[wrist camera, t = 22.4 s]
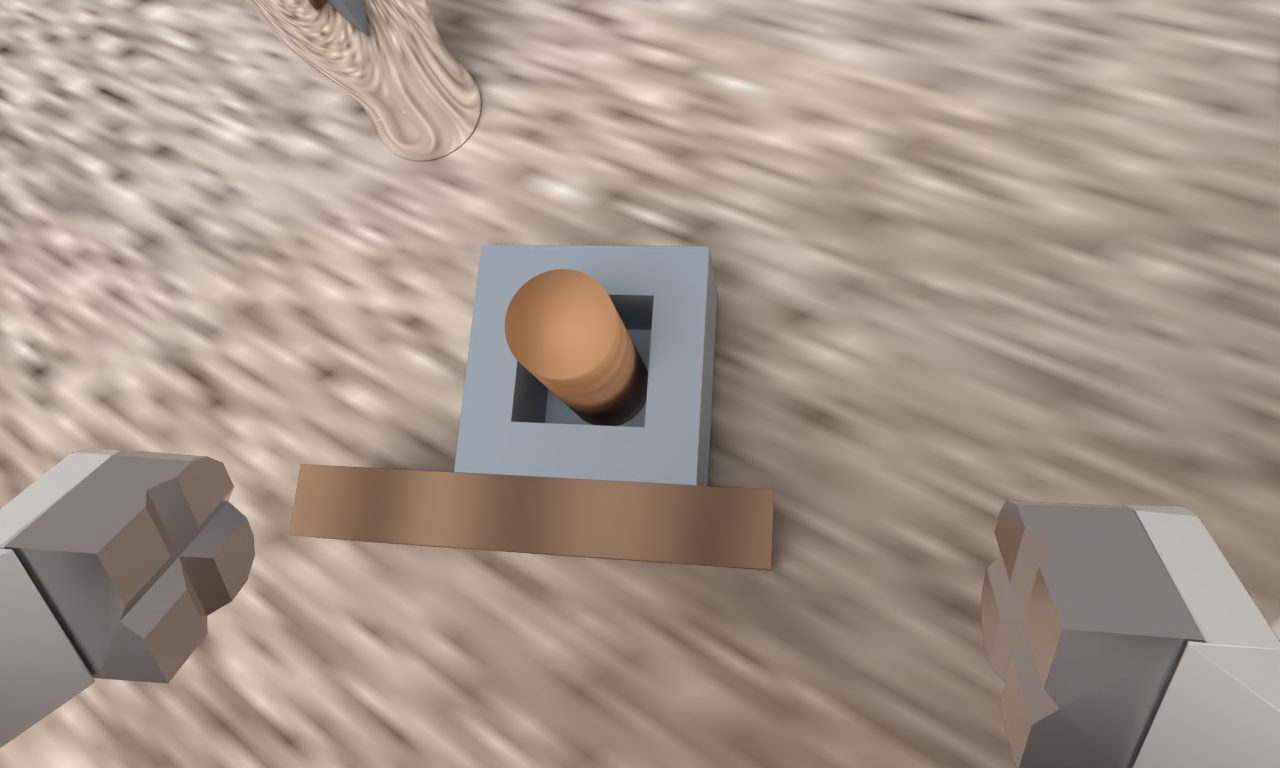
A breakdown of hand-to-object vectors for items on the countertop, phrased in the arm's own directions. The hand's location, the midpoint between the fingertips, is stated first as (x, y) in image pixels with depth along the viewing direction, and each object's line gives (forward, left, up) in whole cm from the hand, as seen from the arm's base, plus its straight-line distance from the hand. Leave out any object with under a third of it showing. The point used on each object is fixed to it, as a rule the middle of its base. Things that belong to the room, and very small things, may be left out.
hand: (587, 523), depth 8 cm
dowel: (+6, -8, -28) cm, 30 cm away
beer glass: (+17, -23, -30) cm, 42 cm away
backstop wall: (+8, -1, -29) cm, 30 cm away
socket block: (+6, -8, -29) cm, 31 cm away
